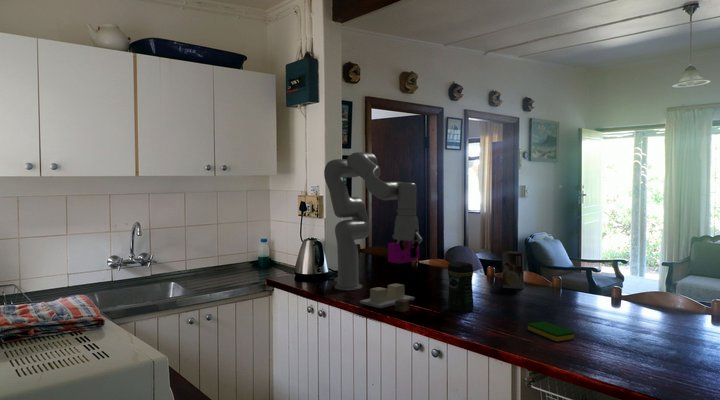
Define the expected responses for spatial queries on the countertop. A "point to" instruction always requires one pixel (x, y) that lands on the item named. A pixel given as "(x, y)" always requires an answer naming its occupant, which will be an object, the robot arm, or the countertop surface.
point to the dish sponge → (551, 331)
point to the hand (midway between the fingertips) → (406, 255)
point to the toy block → (400, 253)
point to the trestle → (386, 296)
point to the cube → (402, 305)
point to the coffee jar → (460, 286)
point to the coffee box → (513, 270)
